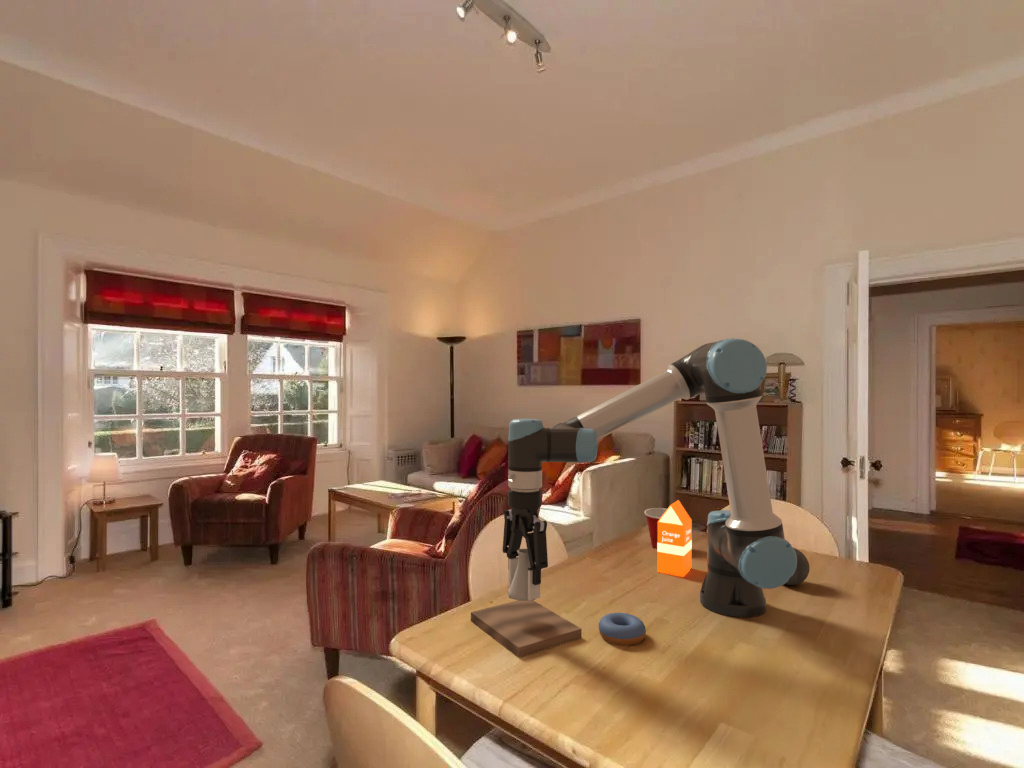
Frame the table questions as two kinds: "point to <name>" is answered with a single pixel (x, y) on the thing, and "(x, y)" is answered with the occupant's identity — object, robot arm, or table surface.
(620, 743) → the table surface
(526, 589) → the flask
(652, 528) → the plastic cup
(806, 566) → the decorative ball
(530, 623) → the walnut board
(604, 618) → the doughnut
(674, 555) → the orange juice
